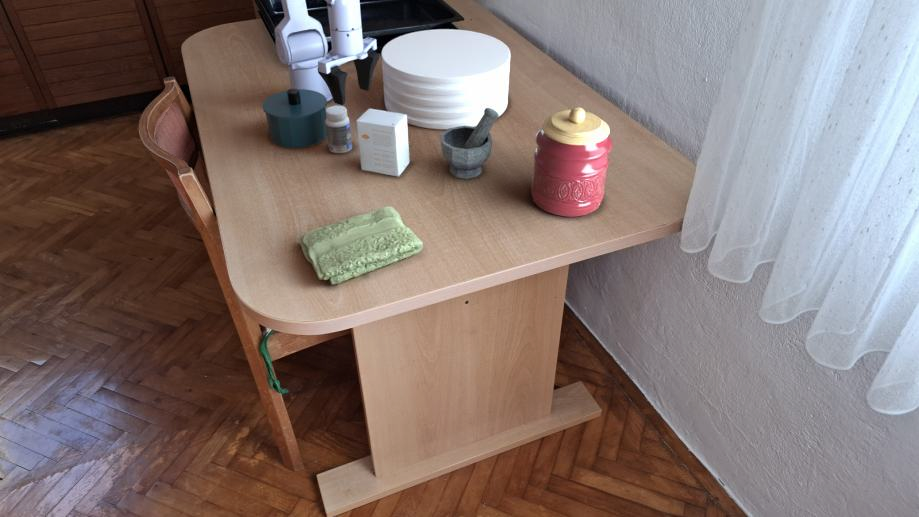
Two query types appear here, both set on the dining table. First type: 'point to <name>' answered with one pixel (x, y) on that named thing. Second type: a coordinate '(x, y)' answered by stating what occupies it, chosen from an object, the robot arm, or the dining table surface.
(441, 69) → the plate stack
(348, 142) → the pill bottle
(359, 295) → the dining table surface
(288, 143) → the pot
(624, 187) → the dining table surface
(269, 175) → the dining table surface
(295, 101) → the pot lid
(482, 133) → the mortar and pestle
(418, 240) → the washcloth
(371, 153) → the small box
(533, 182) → the kitchen canister
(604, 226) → the dining table surface
